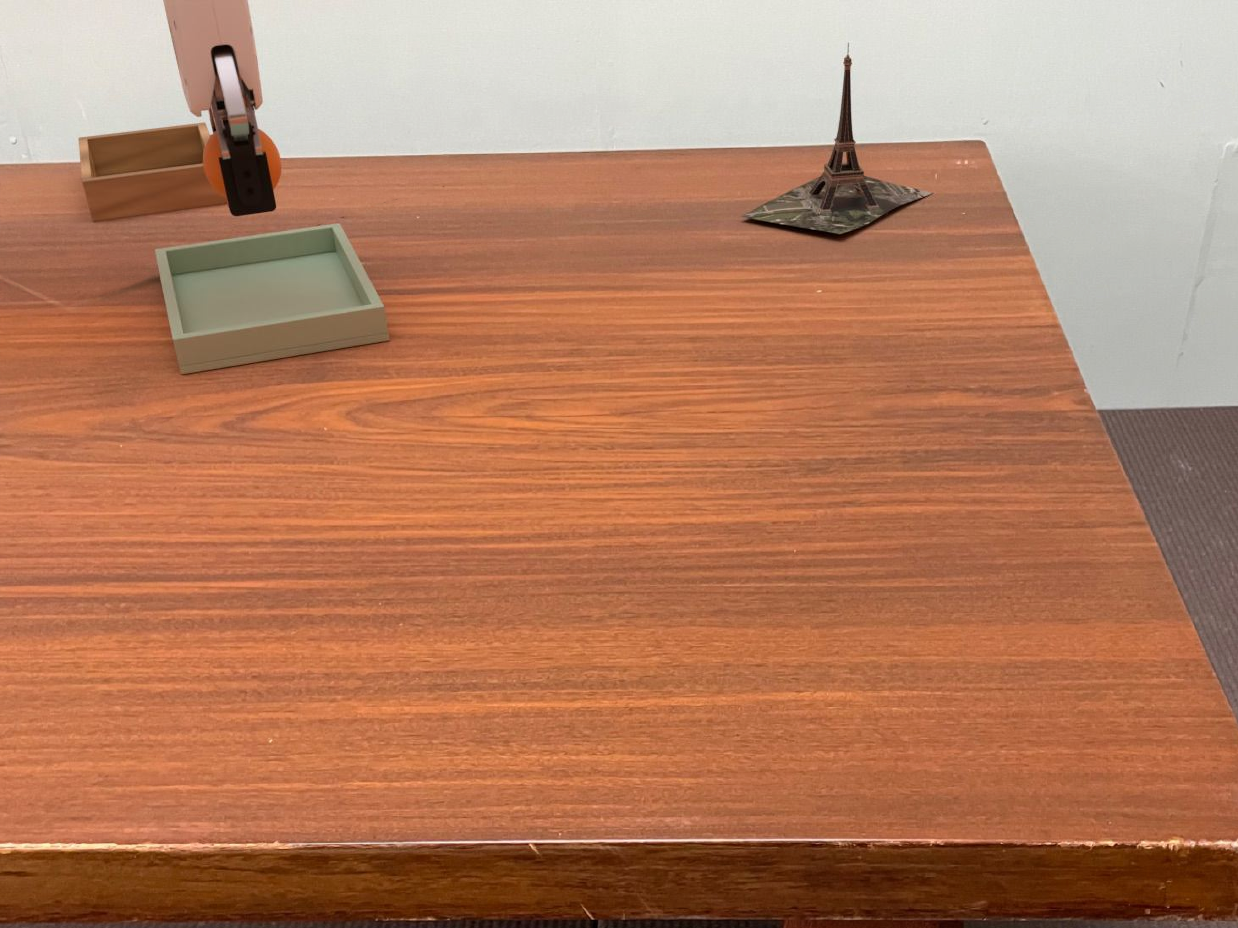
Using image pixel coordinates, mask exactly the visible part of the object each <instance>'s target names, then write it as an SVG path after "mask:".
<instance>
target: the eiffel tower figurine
mask: <svg viewBox="0 0 1238 928" xmlns="http://www.w3.org/2000/svg"><path fill="white" fill-rule="evenodd" d="M849 48H850V43H849V42H847V54H846V56H845V57H844V58H843V65H844V67H843V68H844V71H843V81H842V83H843V84H842V93H841V103H840V113H839V120H838V127H837V132H836V137H835V138H834V139H833V141H834V146H833V149H832V152H831V155H830V157H829V160H828V163H824V165H823V172H822V173H821V175H820V176H818V177H815V178H814V179H812V180H810V181H808V182H806V183H804V184H802V185H799V186H798V187H795V188H793V189H790V190H789V191H787V192H785V193H783V194H781V195H778V196H777V197H775V198H773V199H771V200H769V201H767V202H765V203H763V204H761V205H760V206H758V207H756V208H754V209H752V210H751V211H749V212H747V213H745V214H742V215H741V216H740V217H742V218H745V219H746V218H747V219H753V220H756V221H761V222H768V223H773V224H779V225H786V226H791V227H797V228H803V229H809V230H816V231H820V232H821V231H822V232H828V233H832V234H837V235H842V234H845V233H848V232H851V231H854V230H856V229H857V230H858V229H859V228H863V227H865V226H866V225H869V224H870V223H872V222H873V221H875V220H877V219H879V218H880V217H881V216H883V215H888V214H889V212H890V211H892V210H894V209H896V208H898V207H900V206H902V205H905V204H908V203H911V202H914V201H916V200H919V199H921V198H924V197H927V196H929V195H932V194H933V192H931V191H927V190H923V189H918V188H914V187H909V186H905V185H901V184H896V183H892V182H888V181H884V180H881V179H878V178H874V177H871V176H867V175H865V171H864V169H862V167H861V166H860V163H859V160H858V156H857V151H856V147H855V144H856V143H857V142H856V140H855V139H854V134H853V119H852V89H851V87H852V86H851V85H852V84H851V69H852V68H851V67H852V65H853V62H852V58H851V57H850V55H849V51H850V49H849ZM844 153H845V156H846V157H845V158H846V162H843V159H844Z"/></svg>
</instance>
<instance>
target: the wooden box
mask: <svg viewBox="0 0 1238 928" xmlns="http://www.w3.org/2000/svg"><path fill="white" fill-rule="evenodd" d="M210 135H211V134H210V131H209V129H208V126H207V123H206V122H196V123H189V124H179V125H172V126H171V125H170V126H164V127H155V128H148V129H138V130H131V131H123V132H122V131H121V132H114V133H106V134H105V133H104V134H97V135H89V136H81V137H78V138H77V139H78V150H79V161H80V173H81V174H80V175H81V183H82V186H83V190H84V194H85V198H86V201H87V205H88V208H89V212H90V217H91V221H92V223H99V222H106V221H115V220H121V219H122V220H123V219H129V218H137V217H143V216H151V215H158V214H159V215H160V214H165V213H172V212H173V213H174V212H181V211H186V210H187V211H188V210H195V209H201V208H203V209H204V208H210V207H217V206H224V205H228V204H227V198H225V197H223V196H222V195H221V194H219V193H218V192H217V191H216V190H215V189H214V188H213V187H212V185H211V184H210V182H209V181H208V179H207V177H206V174H205V171H204V167H203V152H204V148H205V145H206V143H207V141H208V139H209V138H210Z"/></svg>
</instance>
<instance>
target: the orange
mask: <svg viewBox="0 0 1238 928" xmlns="http://www.w3.org/2000/svg"><path fill="white" fill-rule="evenodd" d="M224 129H225V126H224ZM258 131H259V135H260V140H261V144H262V149H263V152H264V151H265V152H266V156H267V161H268V166H269V171H270V176H271V181H272V186H273V191H274V190H275V189H276V187H277V186H278V184H279V181H280V179H281V176H282V158H281V155H280V151H279V149H278V147H277V145H276V144H275V143H274V141H273V139H272V138H271V137H270V136H269V135H268V134H267V133H266V132H264V131H263V130H261V129H260V128H258ZM210 135H211V137H210V138H209V139H208V141H207V143H206V145H205V148H204V152H203V167H204V171H205V174H206V177H207V179H208V181H209V182H210V184H211V185H212V187H213V188H214V189H215V190H216V191H217V192H218V193H219V194H221V195H222V196H223V197H225V198H227V196H226V191H225V186H224V182H223V177H222V172H221V168H220V163H219V158H218V157H222V154H221V149H220V145H219V140H218V136H217V131H215V132H214V133H213V132H212V134H210ZM227 143H228V142H227ZM226 205H227V207H228V208H229V205H228V200H227V204H226Z"/></svg>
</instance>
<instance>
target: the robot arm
mask: <svg viewBox="0 0 1238 928" xmlns="http://www.w3.org/2000/svg"><path fill="white" fill-rule="evenodd" d="M162 1H163V7H164V10H165V11H164V12H165V14H166V20H167V25H168V28H169V33H170V39H171V42H172V47H173V51H174V55H175V61H176V65H177V69H178V73H179V78H180V82H181V87H182V88H181V89H182V92H183V96H184V99H185V101H186V104H187V108H188V110H189V112H190V113H191V114H192V115H193V116H195V117H196V118H201V117H202V116H203V115H202V112H203V111H205V112H206V111H207V113H208V117H209V121H210V127H211V130H212V134H213V133H214V132H215V131H217V136H218V140H219V145H220V149H221V154H222V157H218V158H219V163H220V168H221V172H222V177H223V182H224V186H225V191H226V196H227V200H228V204H227V206H228V205H229V207H228V209H229V212H230V214H231V216H233V217H243V216H250V215H257V214H265V213H270V212H274V211H275V210H276V209H277V203H276V197H275V192H274V190H273V186H272V181H271V176H270V171H269V166H268V161H267V156H266V152H265V151H264V152H263V149H262V144H261V140H260V135H259V131H258V129H259V127H258V122H257V116H256V110H258V109H259V108H260V107H261V106H262V105H263V104H264V103H263V102H264V101H263V99H264V98H263V93H262V83H261V75H260V67H259V59H258V54H257V53H258V52H257V47H256V40H255V36H254V29H253V21H252V16H251V12H250V5H249V0H162ZM224 126H225V129H224ZM212 134H210V137H211V135H212ZM227 142H228V143H227Z"/></svg>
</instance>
